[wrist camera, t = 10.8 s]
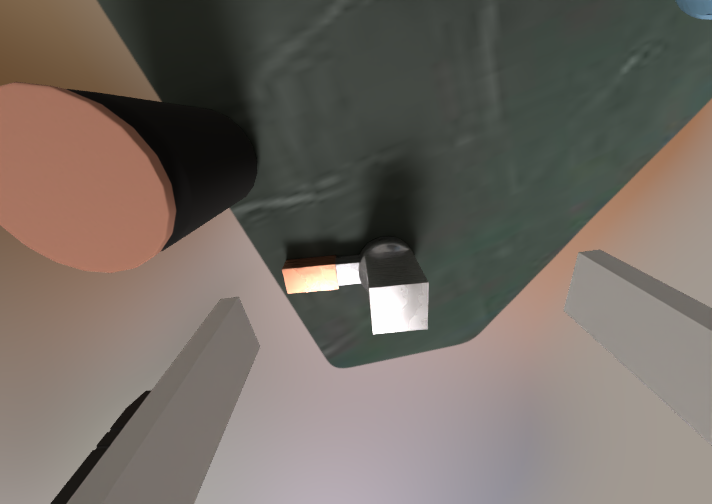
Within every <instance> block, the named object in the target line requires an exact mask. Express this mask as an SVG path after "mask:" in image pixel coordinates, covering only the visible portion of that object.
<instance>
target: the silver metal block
mask: <svg viewBox="0 0 712 504" xmlns="http://www.w3.org/2000/svg"><path fill="white" fill-rule="evenodd" d="M365 265H366V276H367V287H368V297H369V305H370V312H371V320H372V328H373V334H379V333H390V332H400V331H411V330H421V329H427V327H428V287H429V282H428V280H427V279H426V277H425V275H424V273H423V271H422V269H421V267H420V265H419V263H418V262H417V260H416V258H415V256H414V254H413V252H412V250H402V251H392V252H382V253H372V254H365Z"/></svg>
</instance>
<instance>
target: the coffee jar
mask: <svg viewBox="0 0 712 504" xmlns="http://www.w3.org/2000/svg"><path fill="white" fill-rule="evenodd" d="M256 175H257V161H256V156H255V153H254V150H253V147H252V144H251V142H250V141H249V139H248V138H247V136H246V135H245V133H244V132H243V131H242V129H241V128H240V127H239V126H238V125H236V124H235V123H234V122H233V121H232V120H231V119H229V118H228V117H227V116H224V115H222V114H220V113H218V112H216V111H213V110H211V109H204V108H197V107H191V106H184V105H177V104H171V103H164V102H157V101H151V100H143V99H137V98H131V97H124V96H117V95H110V94H103V93H97V92H88V91H79V90H71V89H62V88H58V87H54V86H46V85H38V84H30V83H21V82H14V83H10V84H6V85H3V86H0V225H1V226H2V227H3V228H4V229H6V230H7V231H8V232H9V233H11V234H12V235H13V236H14V237H16V238H17V239H18V240H19V241H21V242H22V243H23V244H24V245H26V246H27V247H29V248H31V249H33V250H34V251H36V252H38V253H40V254H42V255H44V256H46V257H47V258H49V259H51V260H53V261H55V262H57V263H61V264H64V265H67V266H70V267H74V268H77V269H80V270H83V271H94V272H107V273H113V272H118V271H123V270H127V269H132V268H136V267H138V266H140V265H141V264H143V263H144V262H146V261H147V260H149V259H151V258H152V257H154V256H155V255H157V254H158V253H159V252H160V251H163V250H165V249H166V248H168V247H169V246H171V245H173V244H174V243H176V242H177V241H179V240H180V239H182V238H183V237H185V236H186V235H188V234H190V233H191V232H192V231H194V230H196V229H197V228H199V227H200V226H202V225H203V224H205V223H206V222H208V221H209V220H211V219H212V218H214V217H215V216H217V215H218V214H220V213H222V212H223V211H224V210H226V209H228V208H229V207H231V206H232V205H234V204H235V203H237V202H238V201H240V200H241V199H243V198H244V197H246V196H247V194H248V193H249V192H250V190H251V189H252V187H253V186H254V182H255V179H256Z"/></svg>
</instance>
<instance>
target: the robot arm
mask: <svg viewBox="0 0 712 504" xmlns="http://www.w3.org/2000/svg"><path fill="white" fill-rule="evenodd" d="M676 2H677V4H678V6H679V7H680V9H681V10H682V11H684V12H685V13H686V14H688V15H690V16H692V17H695V18H699V19H711V20H712V0H676ZM564 312H566V313H567V314H568V315H569V316H570V317H571V318H572V319H573V320H575V322H576V323H578V324H579V325H580V326H581V327H582V328H583V329H584V330H585V331H586V332H588V333H589V334H590V335H591V336H592V337H593V338H594V339H595V340H597V342H598V343H600V344H601V345H602V346H603V347H604V348H605V349H606V350H607V351H608V352H609V353H610V354H612V355H613V356H614V357H615V358H616V359H617V360H618V361H619V362H620V363H621V364H623V365H624V366H625V367H626V368H627V369H628V370H629V371H630V372H631V373H633V374H634V375H635V376H636V377H637V378H638V379H639V380H640V381H641V382H642V383H643V384H644V385H646V386H647V387H648V388H649V389H650V390H651V391H652V392H653V393H654V394H655V395H657V396H658V397H659V398H660V399H661V400H662V401H663V402H664V403H665V404H666V405H668V406H669V407H670V408H671V409H672V410H673V411H674V412H675V413H677V415H678V416H680V417H681V418H682V419H683V420H684V421H685V422H686V423H687V424H688V425H689V426H691V427H692V428H693V429H694V430H695V431H696V432H697V433H698V434H700V436H702V437H703V438H704V439H705V440H706V441H707V442H708V443H709V444H710V445H712V308H710V307H708V306H706V305H705V304H703V303H701V302H699V301H697V300H695V299H693V298H691V297H689V296H687V295H686V294H684V293H682V292H680V291H678V290H676V289H674V288H672V287H670V286H668V285H666V284H665V283H662V282H661V281H659V280H657V279H655V278H653V277H651V276H649V275H648V274H645V273H644V272H642V271H640V270H638V269H636V268H634V267H632V266H630V265H628V264H627V263H625V262H623V261H621V260H619V259H617V258H615V257H613V256H611V255H610V254H608V253H606V252H604V251H602V250H593V251H585V252H579V253H578V256H577V260H576V264H575V268H574V272H573V276H572V280H571V284H570V287H569V291H568V296H567V299H566V304H565V307H564ZM259 347H260V345H259V343H258V340H257V338H256V336H255V334H254V331H253V329H252V326H251V324H250V322H249V320H248V317H247V315H246V313H245V310H244V308H243V306H242V303H241V301H240V299H239V297H233V298H225V299H220V300H219V302H218V303H217V305H216V306H215V307H214V309H213V310H212V311H211V312H210V314H209V315H208V317H207V318H206V319H205V320H204V322H203V323H202V324H201V326H200V327H199V328H198V330H197V331H196V333H195V334H194V335H193V336H192V338H191V339H190V340H189V342H188V343H187V344H186V346H185V347H184V348H183V350H182V351H181V352H180V354H179V355H178V356H177V358H176V359H175V360H174V362H173V363H172V364H171V366H170V367H169V368H168V370H167V371H166V372H165V374H164V375H163V376H162V378H161V379H160V380H159V381H158V383H157V384H156V385H155V387H154V388H153V389H152V390H151V391H145V392H144V393H143V394H142V395H141V396H140V397H139V398H137V399H136V400H135V401H134V402H133V403H132V404H131V405H129V406H128V407H127V408H126V409H125V411H124V412H123V413H122V414H121V416H120V417H119V418H118V419H117V421H116V422H115V423H114V424H113V426H112V427H111V428H110V429H111V430H110V432H107V433H106V434H105V436H104V437H103V438H102V439H101V441H100V442H99V443H98V444H97V448H96V449H95V450H93V451H92V452H91V453H90V455H89V456H88V457H87V458H86V460H85V461H84V462H83V463H82V465H81V466H80V467H79V469H78V470H77V471H76V472H75V473H74V475H73V476H72V477H71V479H70V480H69V481H68V482H67V483H66V485H65V486H64V487H63V488H62V490H61V491H60V492H59V494H58V495H57V496H56V497H55V499H54V500H53V501H52V502H51V504H194V502H195V500H196V498H197V495H198V493H199V490H200V488H201V486H202V483H203V480H204V479H205V476H206V474H207V471H208V469H209V467H210V464H211V462H212V459H213V457H214V455H215V452H216V450H217V448H218V445H219V442H220V440H221V438H222V436H223V433H224V431H225V428H226V426H227V424H228V421H229V419H230V417H231V414H232V412H233V409H234V407H235V405H236V402H237V400H238V397H239V395H240V393H241V390H242V388H243V385H244V383H245V381H246V379H247V376H248V374H249V371H250V369H251V367H252V364H253V362H254V360H255V357H256V355H257V352H258V350H259Z"/></svg>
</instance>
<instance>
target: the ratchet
mask: <svg viewBox="0 0 712 504" xmlns="http://www.w3.org/2000/svg"><path fill="white" fill-rule="evenodd" d="M402 250H411V248H410V247H409V246H408V244H407V243H405V242H404V241H403V240H401V239H399V238H396V237H391V236H384V237H379V238H376V239H374V240H372V241H370V242H369V243H368V244H366V245H365V246H364V248H363V249H362V251H361V252H360V255H352V256H342V257H336V255H332V256H322V257H312V258H302V259H292V260H286V262H285V264H284V266H283V268H282V272H283V276H284V280H285V284H286V288H287V292H288V294H290V293H300V292H310V291H321V290H331V289H338V287H339V285H347V284H357V283H361V284H362V285H363V287H364V288H365V289H366V290H367V291H368V287H367V276H366V265H365V254H372V253H382V252H392V251H402Z"/></svg>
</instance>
